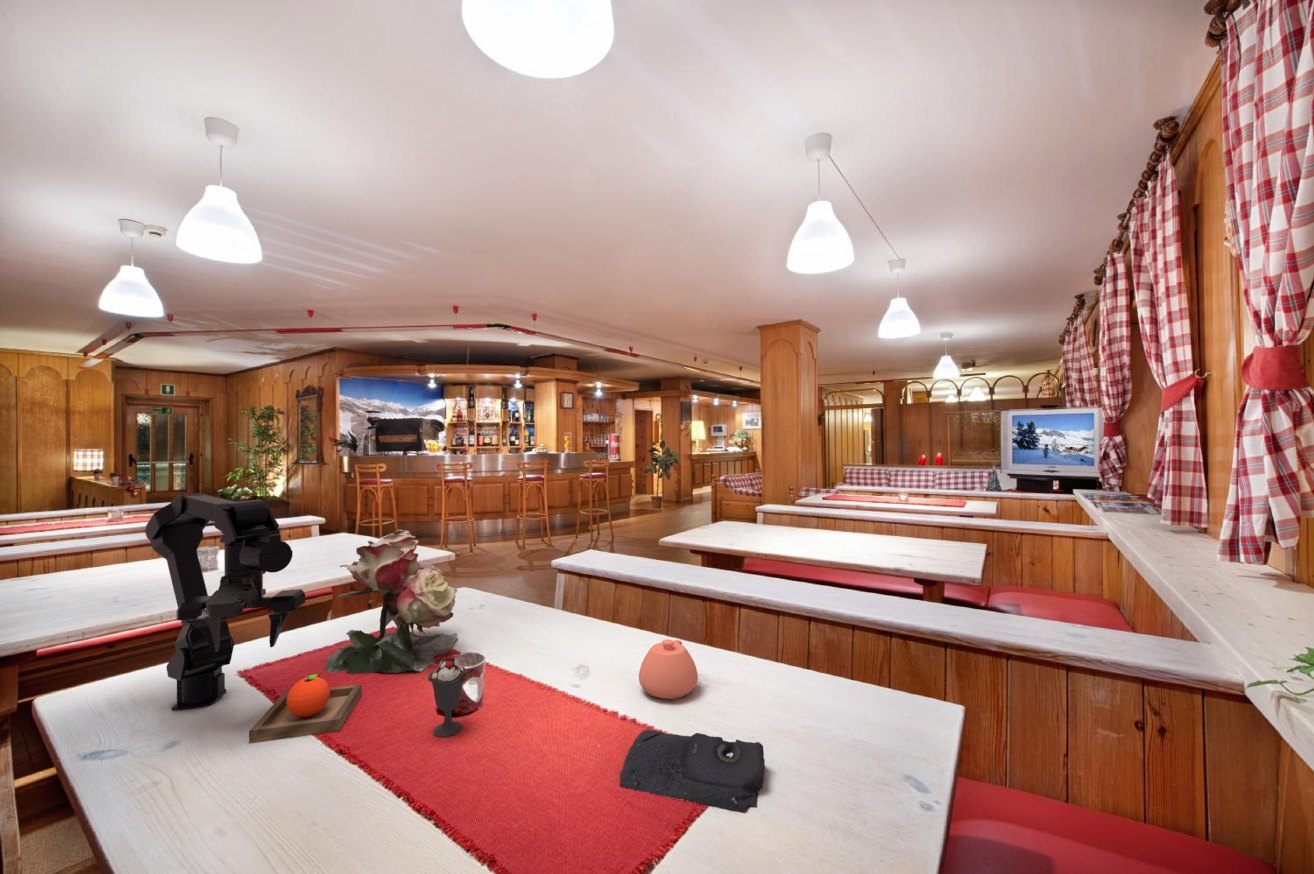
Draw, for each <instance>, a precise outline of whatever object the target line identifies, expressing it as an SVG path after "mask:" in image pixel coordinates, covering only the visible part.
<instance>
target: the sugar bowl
mask: <svg viewBox="0 0 1314 874" xmlns="http://www.w3.org/2000/svg"><path fill="white" fill-rule="evenodd" d="M698 678H699V674H698V670H697V666H696V664H695V662H694V659H693V657H692V656H691V653H690V652H689V651H688V650H687V648H686V647H685V645H683V642H682V640H679V639H675V640H673V639H670V638H669V639H664V640H662V641H661V642H658V643H656V644H654V645H652V646H651V647H650V648H649V650H648V651H647V653H646V655H645V657H643V661H642V662H641V665H640V668H639V673H638V682H639V684H640V685H641V687H642V689H643V690H644V691H645V692H646V693H647V694H648V695H650V696H652V697H656V698H660V699H670V700H674V701H676V700H680V699H681V698H682V697H685V696H686V695H688V694H690V692H691V691H693V690H694V688H695V687H697V684H698V680H699V679H698Z"/></svg>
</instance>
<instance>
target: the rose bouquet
mask: <svg viewBox="0 0 1314 874" xmlns="http://www.w3.org/2000/svg"><path fill="white" fill-rule="evenodd" d="M416 538H417V537H416V536H414V535H412V534H411V533H410V531H409V530H408V529H407V530H405V529H404V530H403V529H397V530H395V531H392V532H391V533H389V534H387V535H385V536H382V537H380V538H379V540H377V542H374V541H372V540H368V541H367V543H368V545H362V546H359V547H356V548H355V549H356V555H358V556H359V559H358V561H353V562H352V563H351V564H343V565H339V567H340V568H343V567H344V568H346V569H347V570H348V571H349V573H350V574H351V576H352V578H353V579H354V580H355V582H357V583H359V585H361V586H362V587H365V588H362V589H360V590H351V591H348V592H344V593H342V594H340V595H338V596H337V597H336V598H337V599H340V598H344V597H345V598H346V597H353V596H354V597H356V596H363V595H368V594H372V593H377V594H380V595H379V597H380V598H381V597H382V608H381V609H380V618H379V633H380V634H379V635H378V636H374V634H371V633H366V632H364V631H363V630H361V629H359V630H357V629H350V630H349V631H347V632H346V633H345V634H346V635H347V636H348V637H349V639H348V640H349V643H351V644H352V645H343V646H342V647H340V648H339V649H338V650H336V652H335V653H332V654H330V655H329V656H328V657H327V660H326V664H325V665H324V667H323V670H325V671H326V672H328V673H335V674H336V673H337V674H339V672H342V671H345V674H371V673H377V672H381V673H388V674H397V673H398V674H399V673H400V674H401V673H407V672H410V671H414V672H415V671H416V672H423V671H425V670H426V669H427V668H428V667H429V666H431V665H433V666H436V662H435V657H436V656H440V655H443V654H447V653H449V652H450V651H451V650H452V649H453V647H454V646H455V644H456V643H455V642H456V640H457V637H458V633H457V632H454V633H452V634H449V633H447V634H446V633H436V634H431V635H427V634H426V633H425V632H426V631H424V630H423V628H425V629H430V628H432V627H433V628H434V627H436V628H437V627H440V626H441V625H440V624H441V623H445V622H447V621H449V620H450V619H452V617H454V614H455V613H454V612H452V611H453V608H454V606H455V605H456V604H455V603H456V600H455V599H456V597H457V596H456V594H457V592H458V589H457V588H456V587H452V586H449V584H448V581H446V579H445V578H446V577H445V574H443V572H442V570H441V569H440V568H439V567H438V565H437V564H429V563H423V562H421V561H420V562H418V557H419V553H415V551H416V550H417V546H418V544H420V543H419V540H418V539H416ZM375 603H377V600H376V599H372V600H369V601H368V604H369V605H371V604H375ZM392 621H393V623H394V624H395V626H396V629H395V631H394V632H393V633H391V632H390V633H387V631H386V627H387V626H388V625H389V624H390V623H391V622H392ZM415 625H416V629H417V631H418V634H420V633H422V634H423V636H415V631H414V628H415V627H414V626H415ZM410 629H411V632H410Z"/></svg>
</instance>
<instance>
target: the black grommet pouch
mask: <svg viewBox="0 0 1314 874" xmlns="http://www.w3.org/2000/svg"><path fill="white" fill-rule="evenodd" d="M764 752H765V751H764V745H763V744H762V743H761V742H759V741H756V742H752V741H751V742H750V741H743V740H740V739H735V741H727V740H724V739H723V737H721V736H713V735H712V736H710V735H708V734H705V733H699V732H696V733H693V734H692V735H681V734H675V733H673V734H672V733H664V732H663V731H657V730H649V729H643V730H642V731H641V732H640V733H639V734H638V736H636V738H635V739H634V741H633V743H632V744H631V746H630V747H629V750H628V752H627V754H626V756H625V759H624V762H623V764H622V769H621V771H620V773H619V786H620V787H621V786H622V788H623V787H625V788H624V789H628V788H629V789H628V790H630V789H633V790H635V791H634V792H644V793H646V792H649V793H653V794H656V795H655V796H659V795H661V796H660V797H662V795H663V796H667V797H671V798H677V799H684V800H688V801H690V802H696V803H698V804H697V805H699V804H702V805H701V806H707V807H711V808H717V809H722V810H727V811H731V812H737V813H741V814H745V813H746V812H747V811H748V809H750V808H756V809H757V808H758V800H759V792H760V791H761V789H763V787H764V781H765V768H766V765H765V761H766V760H765V756H764V755H765V754H764ZM728 754H732V755H731V757H730V756H729V755H728ZM633 790H632V791H633ZM638 790H639V791H638ZM653 794H652V795H653Z"/></svg>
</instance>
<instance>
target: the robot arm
mask: <svg viewBox="0 0 1314 874" xmlns="http://www.w3.org/2000/svg"><path fill="white" fill-rule="evenodd" d="M209 522H213V523H214V528H215V529H217V531H218V530H219V531H220V532H221V534H222V537H221V538H220V539H219V542H220V544H221V543H222V544H224V558H223V559H224V575H223V576H221V577H220V581H219V587H218V589H216V590H215V591H214V592H213V593H212V594H211V595H209V594H208V590H207V585H206V583H205V578H204V574H203V570H202V566H201V563H200V559H199V553H198V549H199V546H200V544H202V543H201V542H202V540H203V538H204V530H205V528H206V527H207V525H208V523H209ZM279 527H280V525H279V523H278V521H277V519H276V518H275V516H274V515H273V513H272V511H271V509H270V507H269V505H268V504H267V503H266V501H264V500H262V499H252V500H250V499H249V500H242V501H241V500H238V501H233V500H229V499H225V498H222V497H221V498H220V497H216V496H213V495H209V494H207V493H203V492H199V493H197V492H196V493H185V494H179V495H177V496H174V497H173V498H172V500H171V501H170V503H169V504H167V505H165V506H163V507H162V508H160V509H159V510H157V511H155V512H154V513H153V514H152V516H151V517H150V519H149V520H148V522H147V523H146V526H145V536H146V539H148V540H149V543H150V545H151V548H152V550H153V552H156V554H158V555H160V556H161V557H163V558H164V559H165V560H166V564H167V567H168V572H169V577H170V580H171V585H172V588H173V593H174V597H175V602H176V604H177V610H176V620H177V621H180V622H181V630H180V632H179V634H178V636H177V638H176V640H175V643H174V647H175V652H174V653H173V655H172V656H171V659H169V661H168V663H167V665H166V667H165V668H166V673H167V677H168V678H171V679H173V680H176V703H175V704H174V705H172V706H171V711H177V710H185V709H186V710H187V709H194V708H202V707H208V706H211V705H212V704H214V703H215V702H216V701H217V700H219V698H221V697H222V696H223V695H224V694H225V693H226V692H227V688H226V686H225V685H226V682H225V681H226V680H225V679H226V675H225V672H223V666H228V665H230V664H231V661H232V656H233V652H234V648H235V642H234V639H233V637H232V635H231V633H230V629H229V628H230V627H229V623H228V622H227V621H226V620H221V619H222V618H229V619H233V618H237V617H240V616H241V615H242V613H244V612H243V611H244V610H245V609H247V610H249V609H257V608H260V609H262V608H269V609H270V610H271V611H272V612H270V613H269V614H268V617H269V620H270V626H269V629H270V630H269V640H268V641H269V648H273V647H274V646H275V645H276V643H277V641H278V639H279V636H280V634H281V631H282V629H283V627H284V624H285V622H286V621H287V618H288V617H289V616H290V614H291V613H292V612H294V611H296V610H297V609H299V608H300V607H301V606H302V605H304V604H305V603H306V593H305V591H304V590H303V589H301V588H300V589H299V588H298V589H285V590H281V591H279V592H278V593H276V594H275V595H273V596H264V595H266V593H267V591H266V588H264V582H263V581H264V576H263V575H265V574H266V573H269V574H270V573H271V574H272V573H278V572H281V571H283V570H284V569H285V568H287V567H288V566H289V564H290V563H291V561H292V558H293V550H292V548H291V546H290V544H289V543H287V542H286V541H285V540H284V541H283V540H281V539H282V534H281V531H280V528H279Z"/></svg>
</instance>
